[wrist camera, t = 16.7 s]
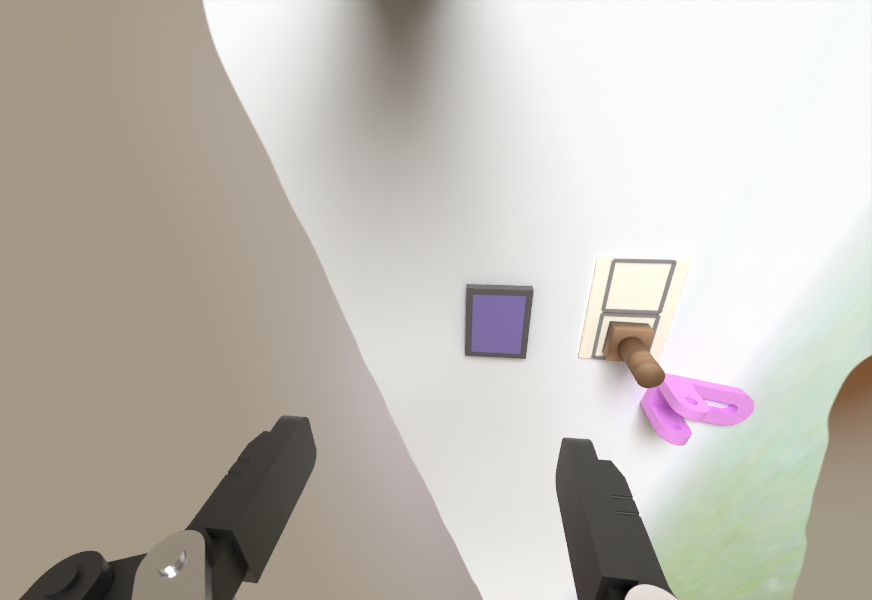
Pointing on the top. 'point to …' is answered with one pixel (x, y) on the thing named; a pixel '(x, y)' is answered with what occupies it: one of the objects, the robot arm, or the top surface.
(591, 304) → the sheet
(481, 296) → the ink pad
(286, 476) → the robot arm
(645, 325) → the stamp
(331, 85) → the top surface
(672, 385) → the bracket
